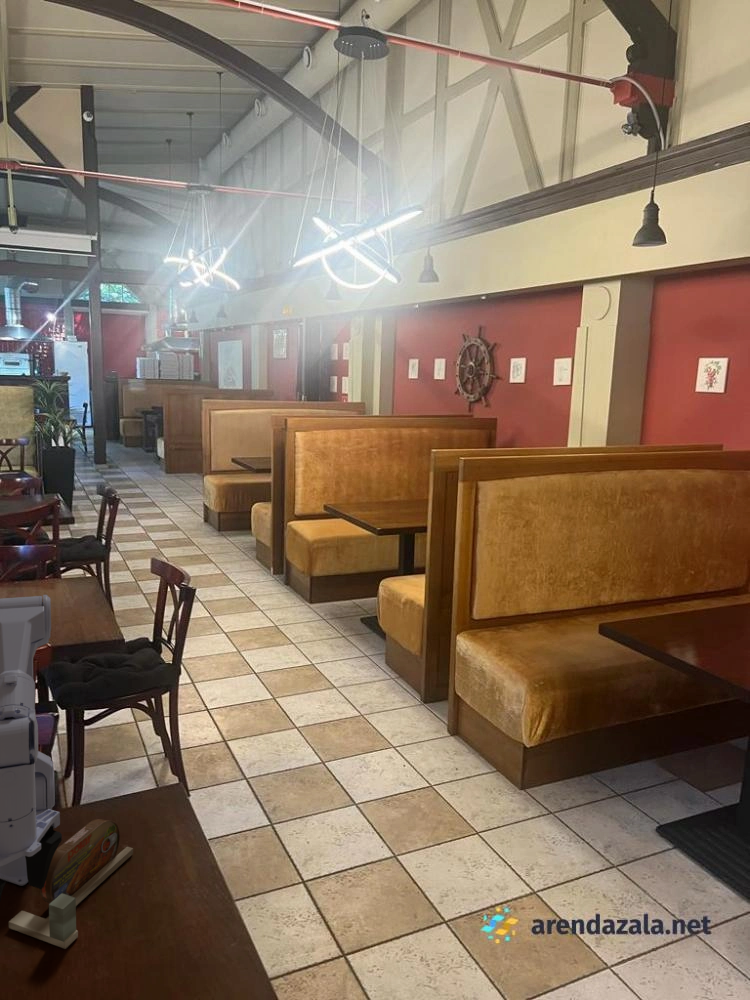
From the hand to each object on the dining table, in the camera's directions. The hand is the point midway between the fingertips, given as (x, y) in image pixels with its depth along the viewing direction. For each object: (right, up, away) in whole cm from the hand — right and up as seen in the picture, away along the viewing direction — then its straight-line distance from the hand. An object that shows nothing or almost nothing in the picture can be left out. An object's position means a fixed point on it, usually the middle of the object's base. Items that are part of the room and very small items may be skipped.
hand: (14, 904), depth 94 cm
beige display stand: (+3, -7, +16) cm, 18 cm away
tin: (+2, -7, +18) cm, 19 cm away
